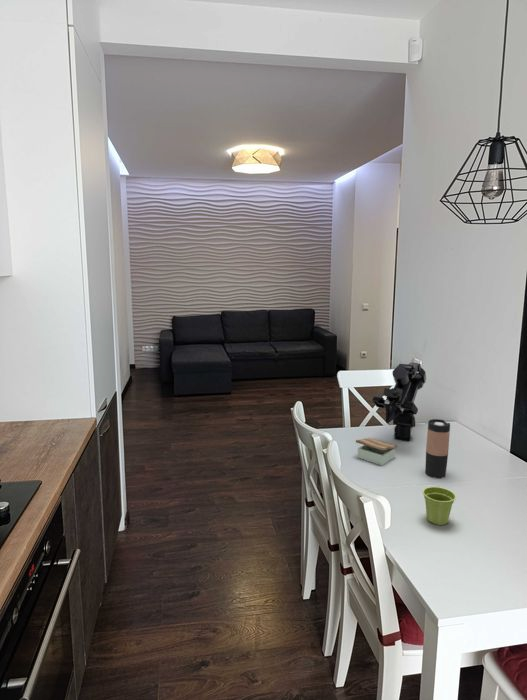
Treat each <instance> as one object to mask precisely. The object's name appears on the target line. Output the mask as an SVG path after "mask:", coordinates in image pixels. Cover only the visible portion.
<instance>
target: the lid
mask: <svg viewBox="0 0 527 700" xmlns="http://www.w3.org/2000/svg"><path fill="white" fill-rule="evenodd" d="M355 443H357V444H360V445H362V446H363V445H367V446H370V447H373V448H377V449H380V450H387V449H392V448H395V449H396V448H397V447H398V445H397V444H391V443H388V442H385V441H382V440H378V439H375V438H371V437H368V438H363V439H356V440H355Z"/></svg>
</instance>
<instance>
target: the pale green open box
mask: <svg viewBox="0 0 527 700" xmlns="http://www.w3.org/2000/svg"><path fill="white" fill-rule="evenodd" d="M395 453H396V448H392V449H387V450H380V449H377V448H373V447H370V446H367V445H363V444H362V445H361V446H359V447H358V448H357V457H358V458H357V459H360V458H361V460H363V459H364V461H367V462H370V463H373V464H377V465H379V466H384V465H385V464H387V463H389V462H390V461H392V460H393V459H395V455H396V454H395Z"/></svg>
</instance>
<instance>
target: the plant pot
mask: <svg viewBox="0 0 527 700" xmlns="http://www.w3.org/2000/svg"><path fill="white" fill-rule="evenodd" d="M422 495H423V498H424V502H425V510H426V511H425V512H426V520H427V521H428V522H429V523H432V524H434V525H438V526H445V525H446V524H448V523H449V520H450V515H451V511H452V507H453V504H454V503H455V500H456V499H457V495H456V494H455V493H454V492H453V491H452V490H449V489H448V488H445V487H440V486H429V487H425V488H424V489H423V490H422Z"/></svg>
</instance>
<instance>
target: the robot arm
mask: <svg viewBox="0 0 527 700" xmlns="http://www.w3.org/2000/svg"><path fill="white" fill-rule="evenodd" d="M392 377H393V381H394V383H395V384H394V387H391V388H385V387H384V389H383V394H382V396H380V395H379V396H377V395H374V396H372V399H371V402H372V403H373V404H374V405H375V407H377V408H379V409H384V408H385V423H386V424H390V423H391V422H392V423H393V425H395V427H394V433H393V434H394V435H393V437H394V439H395V440H399V441H400V440H401V441H405V442H411V439H412V429H413V428H416V417H415V415H417V414H418V411H419V408H418V407H417V406H416V404H415V401H416V397H417V394H418V391H419V390H421V389H422V388H423V387H424V385H425V384H426V382H427V374H426V370H424V368H422V364H421V363H418V362H409V363H399V364H398V365H397V366H396V367H395V368H394V369H393V370H392ZM384 397H386V399H384Z"/></svg>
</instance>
